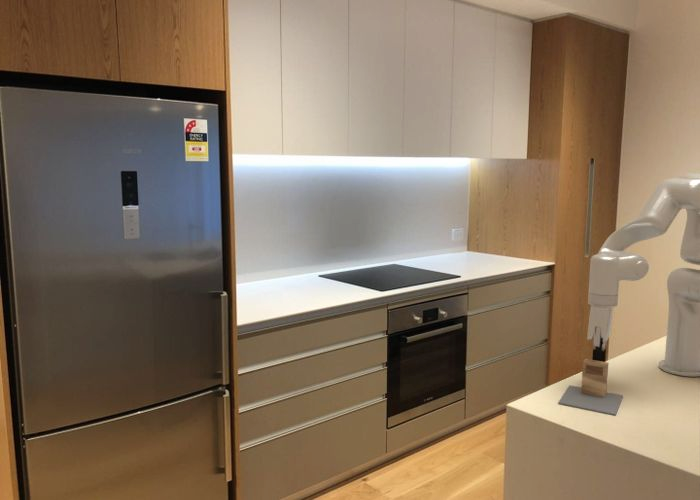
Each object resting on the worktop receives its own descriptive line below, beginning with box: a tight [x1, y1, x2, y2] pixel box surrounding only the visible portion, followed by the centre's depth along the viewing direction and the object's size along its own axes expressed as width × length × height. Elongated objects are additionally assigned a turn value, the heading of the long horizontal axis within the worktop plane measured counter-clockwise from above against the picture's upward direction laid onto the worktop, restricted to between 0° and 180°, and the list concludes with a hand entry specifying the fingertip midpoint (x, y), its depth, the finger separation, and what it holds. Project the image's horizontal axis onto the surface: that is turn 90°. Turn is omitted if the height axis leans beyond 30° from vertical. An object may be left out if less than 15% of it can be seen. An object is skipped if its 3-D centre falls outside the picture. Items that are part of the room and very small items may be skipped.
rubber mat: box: [557, 384, 624, 416], centre depth 157 cm, size 14×14×1 cm
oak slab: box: [580, 358, 609, 398], centre depth 160 cm, size 3×6×9 cm, turn 58°
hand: (598, 362), depth 165 cm, fingers closed
